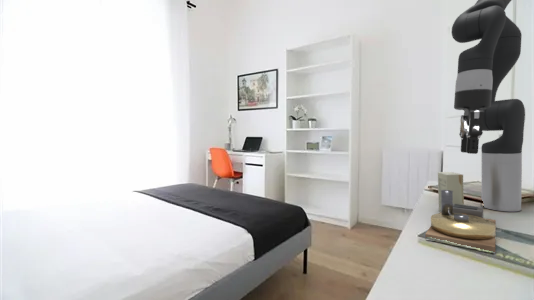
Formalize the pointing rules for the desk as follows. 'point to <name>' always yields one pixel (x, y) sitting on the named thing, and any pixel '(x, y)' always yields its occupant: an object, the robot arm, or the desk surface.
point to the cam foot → (460, 221)
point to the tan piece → (478, 243)
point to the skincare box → (451, 186)
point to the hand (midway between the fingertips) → (468, 152)
